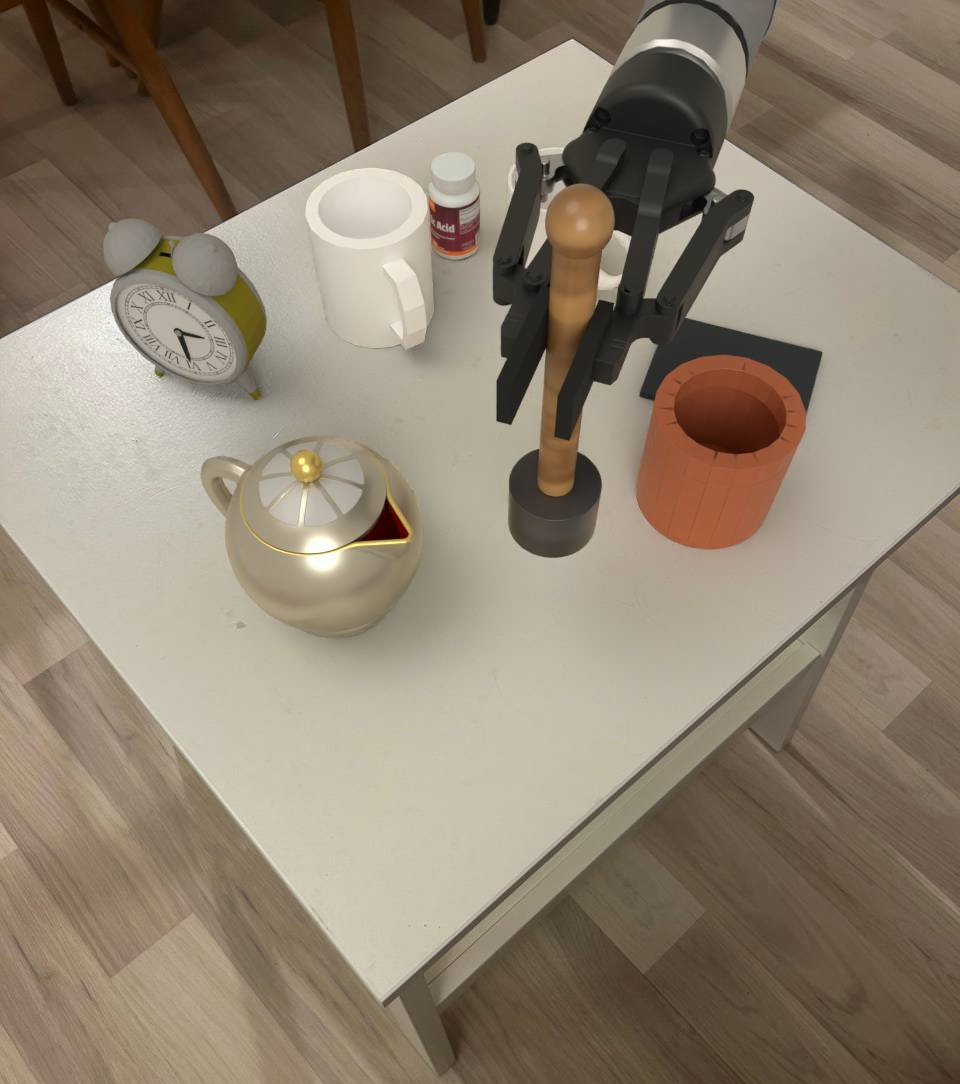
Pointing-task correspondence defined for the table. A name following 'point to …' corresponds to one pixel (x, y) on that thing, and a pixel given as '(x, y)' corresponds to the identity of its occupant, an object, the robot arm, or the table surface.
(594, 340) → the robot arm
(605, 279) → the mug
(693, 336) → the mat
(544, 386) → the brush
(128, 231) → the alarm clock
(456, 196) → the pill bottle
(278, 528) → the teapot
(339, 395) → the table surface
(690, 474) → the jar
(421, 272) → the mug
